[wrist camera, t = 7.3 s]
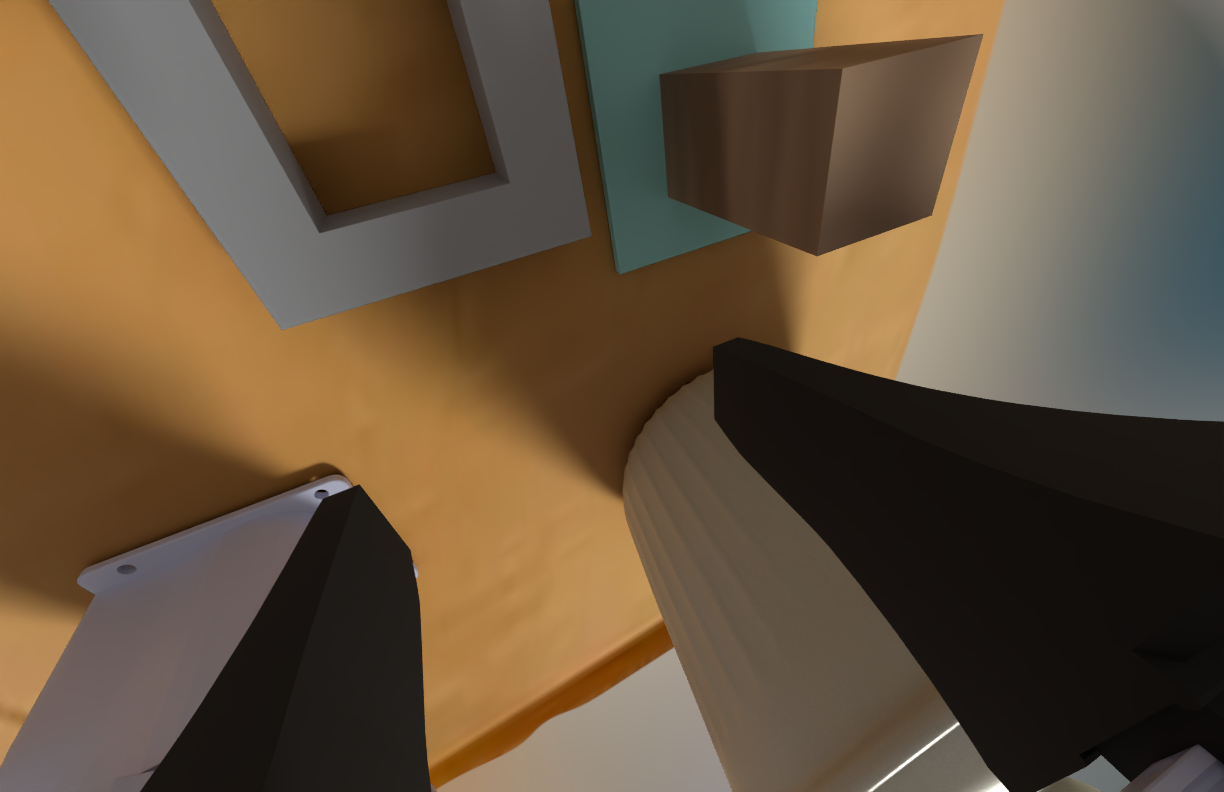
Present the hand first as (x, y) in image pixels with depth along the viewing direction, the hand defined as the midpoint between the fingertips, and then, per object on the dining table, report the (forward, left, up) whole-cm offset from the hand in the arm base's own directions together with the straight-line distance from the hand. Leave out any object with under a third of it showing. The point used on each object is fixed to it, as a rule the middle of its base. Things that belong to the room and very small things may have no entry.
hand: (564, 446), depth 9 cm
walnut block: (+10, +3, -10) cm, 14 cm away
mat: (+10, +3, -10) cm, 15 cm away
